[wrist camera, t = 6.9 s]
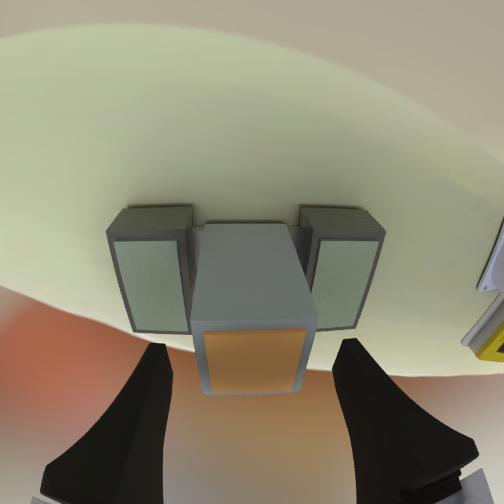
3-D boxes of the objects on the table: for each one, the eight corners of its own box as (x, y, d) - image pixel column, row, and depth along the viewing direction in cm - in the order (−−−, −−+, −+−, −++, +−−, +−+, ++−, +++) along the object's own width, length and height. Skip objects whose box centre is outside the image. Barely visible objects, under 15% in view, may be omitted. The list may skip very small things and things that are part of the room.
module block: (285, 223, 16) (320, 321, 10) (279, 293, 19) (299, 394, 12) (205, 223, 16) (189, 325, 10) (209, 294, 19) (203, 398, 12)
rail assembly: (369, 206, 17) (395, 233, 14) (347, 295, 20) (363, 329, 17) (118, 205, 16) (95, 232, 13) (137, 298, 19) (125, 334, 16)
